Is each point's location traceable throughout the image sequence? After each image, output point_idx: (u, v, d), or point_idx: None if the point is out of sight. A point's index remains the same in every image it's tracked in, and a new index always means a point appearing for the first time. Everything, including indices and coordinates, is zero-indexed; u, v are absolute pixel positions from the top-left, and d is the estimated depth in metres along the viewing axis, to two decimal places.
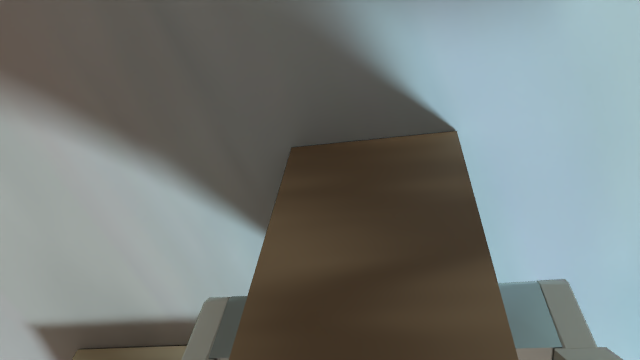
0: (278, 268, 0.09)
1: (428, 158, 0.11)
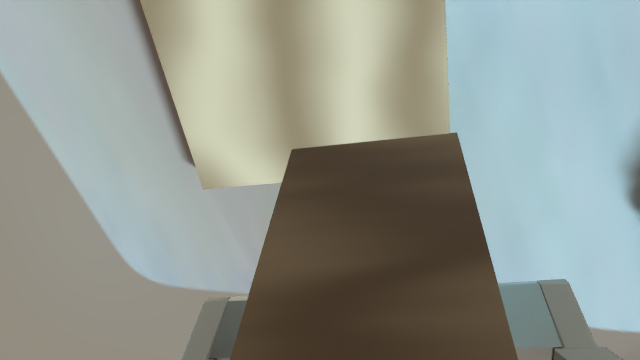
0: (278, 270, 0.09)
1: (428, 160, 0.11)
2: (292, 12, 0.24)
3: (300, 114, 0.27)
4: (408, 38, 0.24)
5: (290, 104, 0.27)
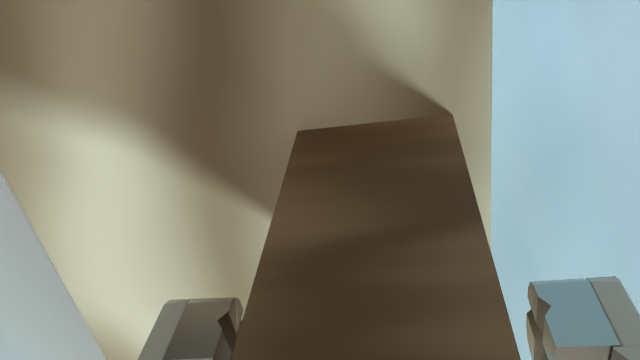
0: (288, 235, 0.10)
1: (426, 138, 0.12)
2: (225, 133, 0.14)
3: (249, 277, 0.17)
4: None
5: (232, 263, 0.17)
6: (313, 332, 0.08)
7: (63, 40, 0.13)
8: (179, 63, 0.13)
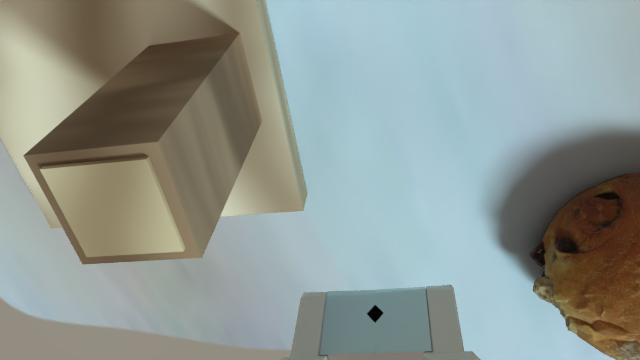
0: (110, 87, 0.18)
1: (214, 44, 0.20)
2: (104, 48, 0.22)
3: None
4: None
5: None
6: (97, 116, 0.16)
7: None
8: (71, 0, 0.21)
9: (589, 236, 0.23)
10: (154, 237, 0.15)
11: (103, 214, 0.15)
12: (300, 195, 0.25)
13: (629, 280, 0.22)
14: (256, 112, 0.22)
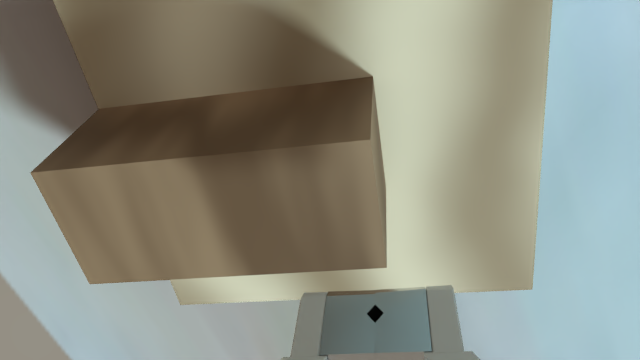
0: (227, 98, 0.16)
1: (324, 130, 0.13)
2: (308, 79, 0.16)
3: None
4: (485, 119, 0.16)
5: None
6: (145, 117, 0.16)
7: None
8: (274, 14, 0.15)
9: None
10: None
11: None
12: None
13: None
14: (366, 250, 0.14)
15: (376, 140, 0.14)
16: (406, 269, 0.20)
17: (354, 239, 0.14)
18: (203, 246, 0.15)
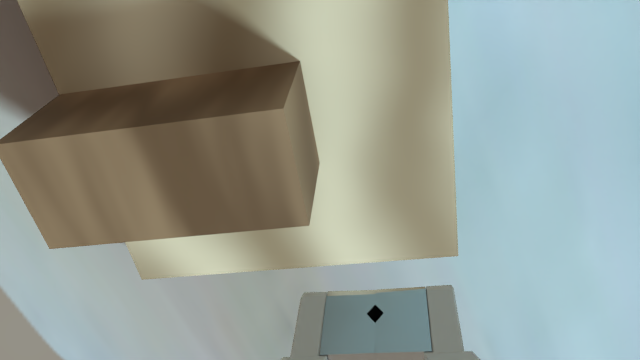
0: (172, 82, 0.18)
1: (248, 102, 0.15)
2: (244, 64, 0.18)
3: None
4: (400, 97, 0.18)
5: None
6: (98, 99, 0.18)
7: None
8: (210, 6, 0.17)
9: None
10: None
11: None
12: (456, 238, 0.21)
13: None
14: (290, 209, 0.16)
15: (299, 114, 0.17)
16: (344, 239, 0.21)
17: (278, 199, 0.16)
18: (148, 210, 0.16)
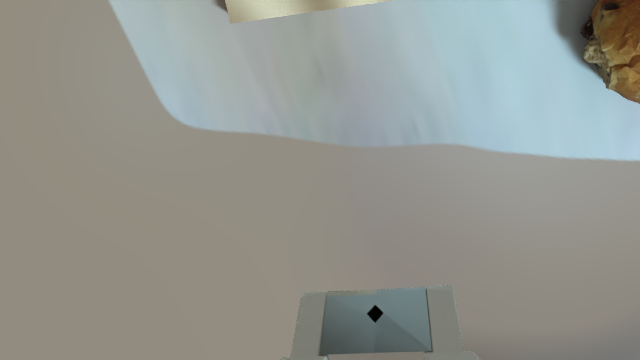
0: None
1: None
2: None
3: None
4: None
5: None
6: None
7: None
8: None
9: None
10: None
11: None
12: None
13: None
14: None
15: None
16: None
17: None
18: None
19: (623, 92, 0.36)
